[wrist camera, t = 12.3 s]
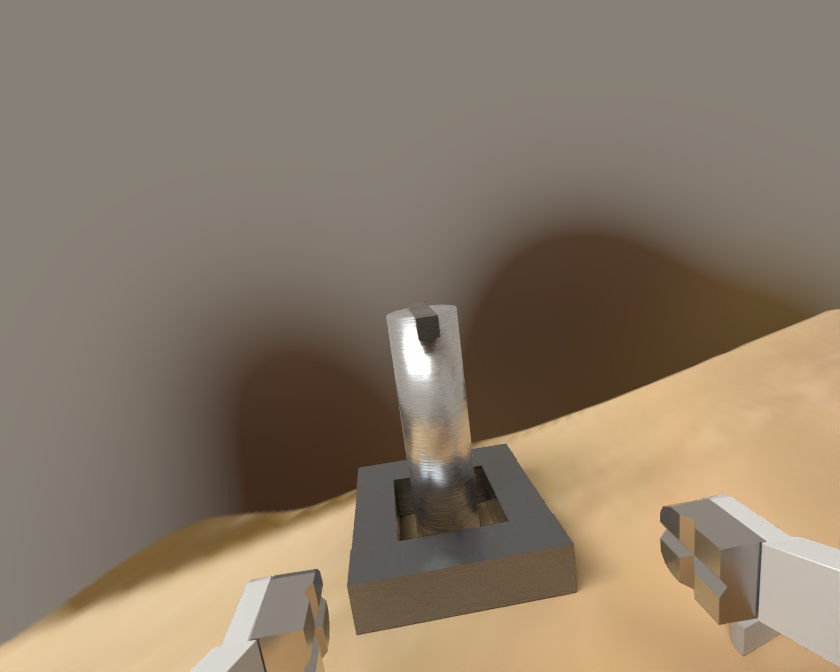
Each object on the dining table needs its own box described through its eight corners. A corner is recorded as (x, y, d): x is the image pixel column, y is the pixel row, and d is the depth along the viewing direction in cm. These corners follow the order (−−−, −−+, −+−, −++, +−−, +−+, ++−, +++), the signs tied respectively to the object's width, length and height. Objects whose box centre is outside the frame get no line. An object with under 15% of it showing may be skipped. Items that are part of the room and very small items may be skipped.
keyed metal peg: (470, 506, 26) (447, 299, 23) (492, 565, 21) (465, 311, 18) (415, 516, 25) (385, 307, 23) (424, 578, 21) (387, 322, 18)
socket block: (509, 476, 28) (505, 443, 28) (576, 592, 19) (573, 544, 18) (364, 501, 28) (358, 468, 27) (356, 634, 18) (347, 586, 17)
